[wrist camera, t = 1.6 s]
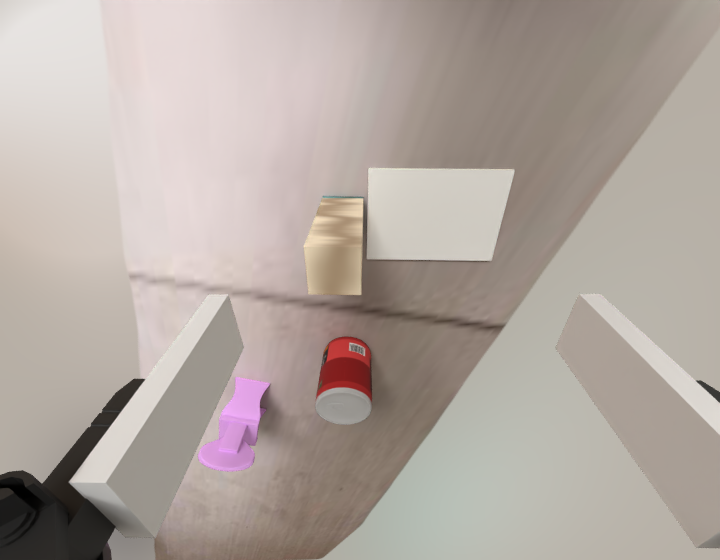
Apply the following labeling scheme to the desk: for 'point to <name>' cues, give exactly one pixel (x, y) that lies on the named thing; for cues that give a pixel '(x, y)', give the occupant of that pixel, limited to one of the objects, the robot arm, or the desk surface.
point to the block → (335, 247)
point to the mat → (435, 213)
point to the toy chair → (236, 429)
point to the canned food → (345, 382)
